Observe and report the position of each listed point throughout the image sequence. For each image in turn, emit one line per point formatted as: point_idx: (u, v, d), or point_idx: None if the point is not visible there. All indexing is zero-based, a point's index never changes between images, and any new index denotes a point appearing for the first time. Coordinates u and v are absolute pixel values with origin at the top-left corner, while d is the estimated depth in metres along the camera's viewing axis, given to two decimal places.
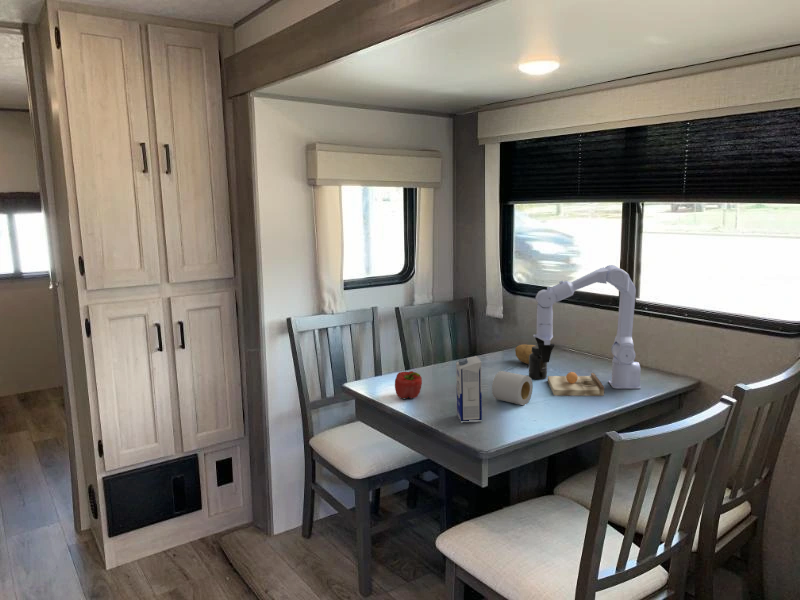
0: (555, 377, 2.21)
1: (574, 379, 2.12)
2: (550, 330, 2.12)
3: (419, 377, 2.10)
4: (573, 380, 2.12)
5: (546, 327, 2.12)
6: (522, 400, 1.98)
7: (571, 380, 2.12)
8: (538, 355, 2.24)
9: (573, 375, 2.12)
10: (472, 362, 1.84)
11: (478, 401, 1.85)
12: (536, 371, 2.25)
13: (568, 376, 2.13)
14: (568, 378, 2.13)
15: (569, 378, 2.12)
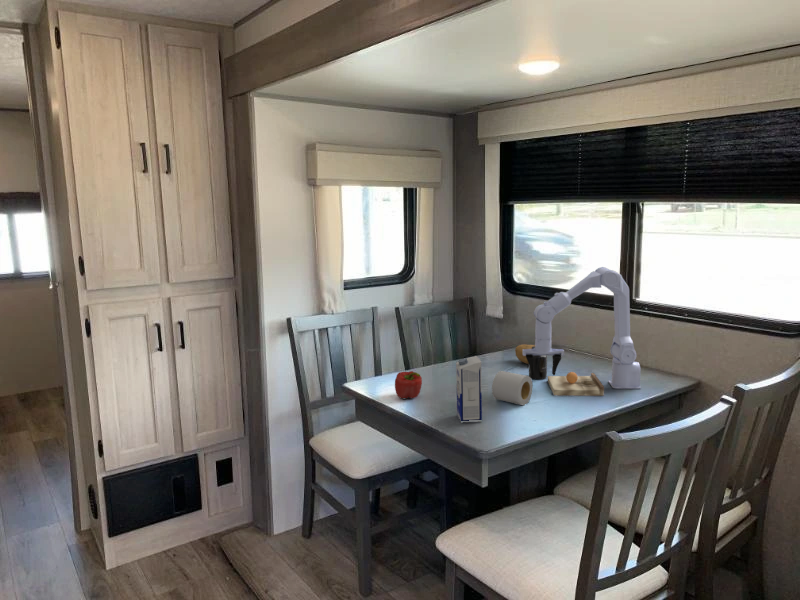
0: (555, 377, 2.21)
1: (574, 379, 2.12)
2: (537, 345, 2.11)
3: (419, 377, 2.10)
4: (573, 380, 2.12)
5: (535, 341, 2.12)
6: (522, 400, 1.98)
7: (571, 380, 2.12)
8: (538, 355, 2.24)
9: (573, 375, 2.12)
10: (472, 362, 1.84)
11: (478, 401, 1.85)
12: (536, 371, 2.25)
13: (568, 376, 2.13)
14: (568, 378, 2.13)
15: (569, 378, 2.12)
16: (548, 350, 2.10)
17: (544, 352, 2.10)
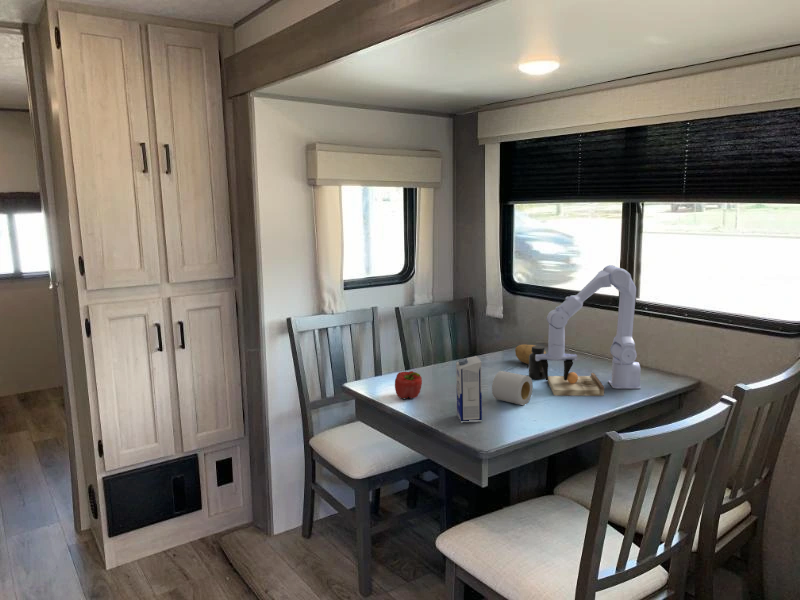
0: (555, 377, 2.21)
1: (574, 379, 2.12)
2: (550, 350, 2.11)
3: (419, 377, 2.10)
4: (573, 380, 2.12)
5: (548, 346, 2.12)
6: (522, 400, 1.98)
7: (571, 380, 2.12)
8: None
9: (574, 375, 2.12)
10: (472, 362, 1.84)
11: (478, 401, 1.85)
12: (536, 371, 2.25)
13: (569, 376, 2.13)
14: (568, 378, 2.13)
15: (570, 378, 2.12)
16: (561, 355, 2.10)
17: (557, 357, 2.10)
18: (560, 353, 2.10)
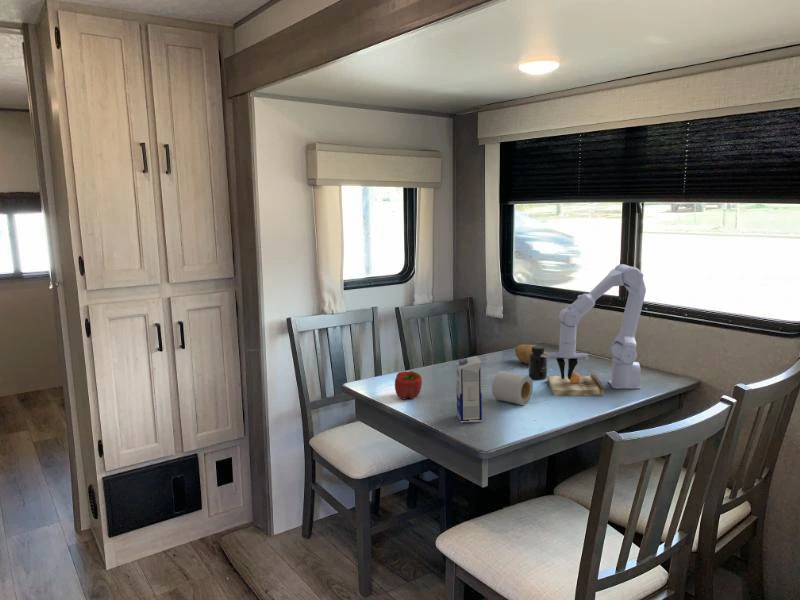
0: (555, 377, 2.21)
1: (576, 380, 2.12)
2: (562, 349, 2.10)
3: (419, 377, 2.10)
4: (575, 380, 2.12)
5: (559, 344, 2.12)
6: (522, 400, 1.98)
7: (573, 380, 2.12)
8: (538, 355, 2.24)
9: (577, 376, 2.12)
10: (472, 362, 1.84)
11: (478, 401, 1.85)
12: (536, 371, 2.25)
13: (572, 375, 2.12)
14: (571, 377, 2.12)
15: (572, 377, 2.12)
16: (572, 354, 2.10)
17: (568, 356, 2.09)
18: (571, 352, 2.09)
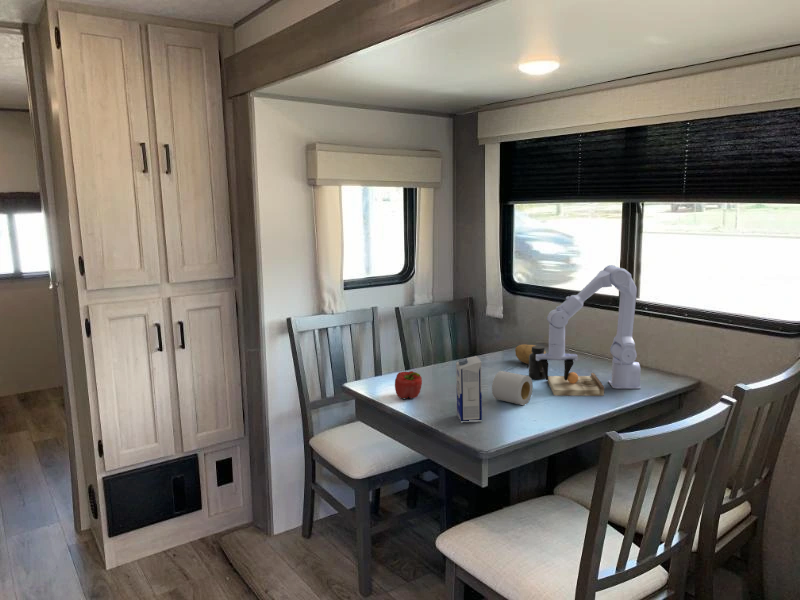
0: (555, 377, 2.21)
1: (575, 379, 2.12)
2: (551, 350, 2.11)
3: (419, 377, 2.10)
4: (574, 380, 2.12)
5: (549, 346, 2.12)
6: (522, 400, 1.98)
7: (572, 380, 2.12)
8: None
9: (574, 375, 2.12)
10: (472, 362, 1.84)
11: (478, 401, 1.85)
12: (536, 371, 2.25)
13: (569, 376, 2.13)
14: (569, 378, 2.13)
15: (570, 378, 2.12)
16: (562, 355, 2.10)
17: (558, 357, 2.10)
18: (560, 353, 2.10)
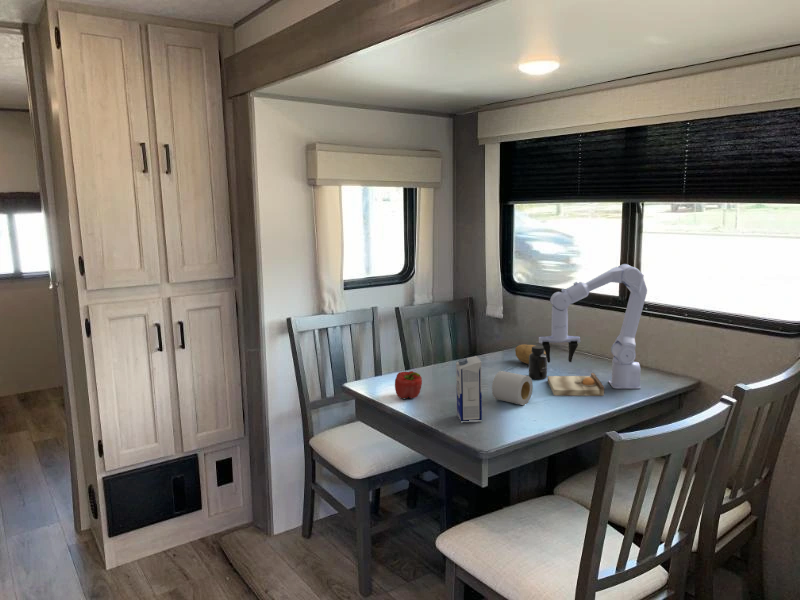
0: (555, 377, 2.21)
1: (588, 383, 2.12)
2: (554, 332, 2.12)
3: (419, 377, 2.10)
4: (589, 383, 2.12)
5: None
6: (522, 400, 1.98)
7: (591, 383, 2.12)
8: (538, 355, 2.24)
9: None
10: (472, 362, 1.84)
11: (478, 401, 1.85)
12: (536, 371, 2.25)
13: None
14: None
15: None
16: (565, 337, 2.12)
17: (561, 339, 2.11)
18: (563, 335, 2.11)
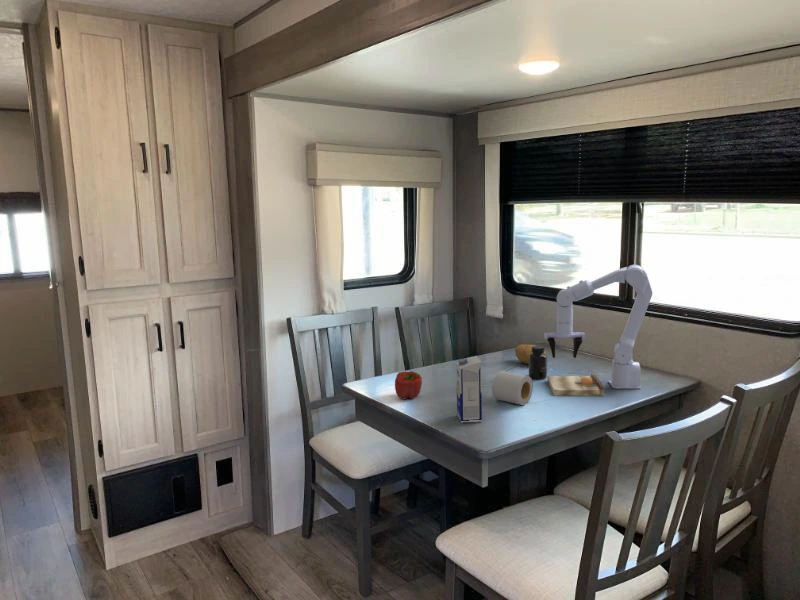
0: (555, 377, 2.21)
1: (586, 384, 2.12)
2: (559, 328, 2.17)
3: (419, 377, 2.10)
4: (587, 383, 2.12)
5: (557, 324, 2.19)
6: (522, 400, 1.98)
7: (589, 383, 2.12)
8: (538, 355, 2.24)
9: None
10: (472, 362, 1.84)
11: (478, 401, 1.85)
12: (536, 371, 2.25)
13: None
14: (591, 384, 2.12)
15: (590, 384, 2.12)
16: (569, 333, 2.17)
17: (566, 335, 2.16)
18: (568, 331, 2.16)
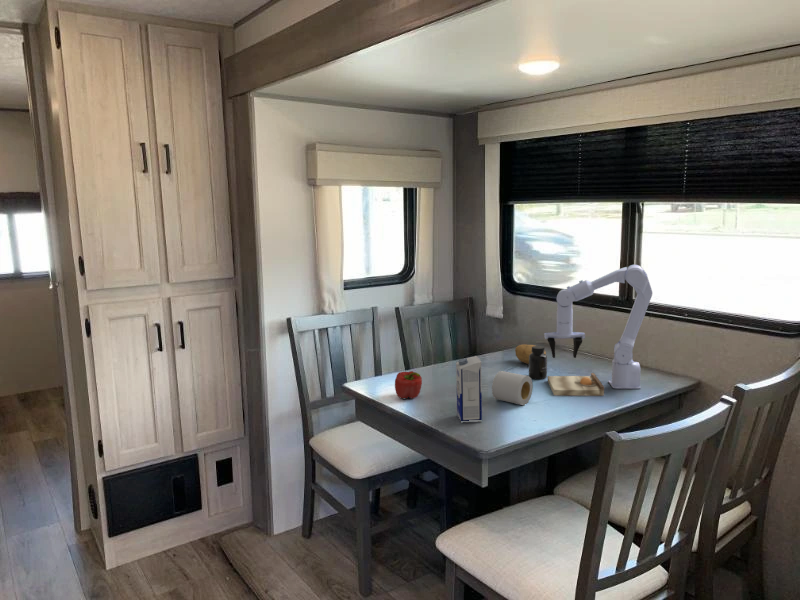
0: (555, 377, 2.21)
1: (585, 384, 2.12)
2: (559, 328, 2.17)
3: (419, 377, 2.10)
4: (586, 383, 2.12)
5: (557, 324, 2.19)
6: (522, 400, 1.98)
7: (588, 383, 2.12)
8: (538, 355, 2.24)
9: None
10: (472, 362, 1.84)
11: (478, 401, 1.85)
12: (536, 371, 2.25)
13: None
14: (590, 383, 2.12)
15: (590, 384, 2.12)
16: (569, 333, 2.17)
17: (566, 335, 2.16)
18: (568, 331, 2.16)
